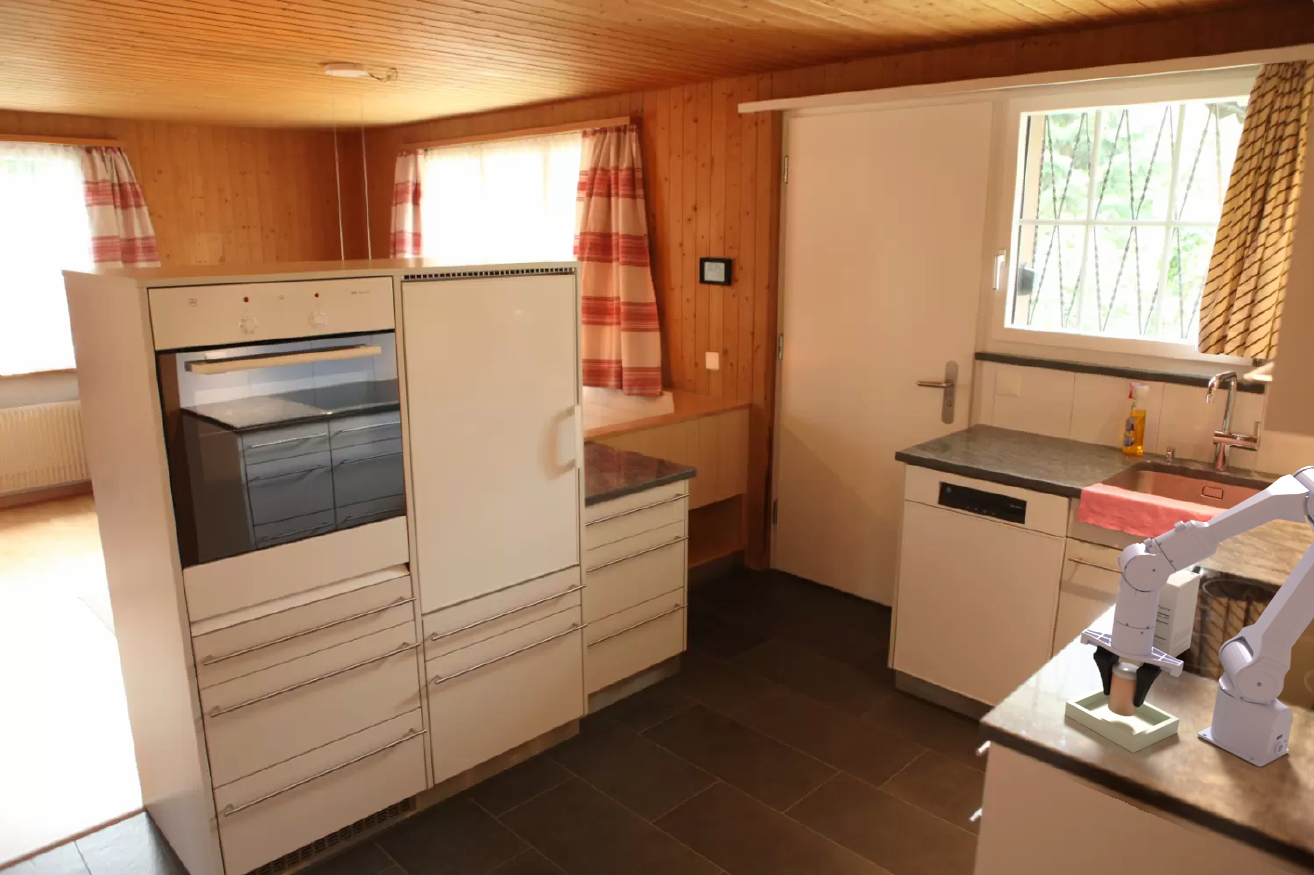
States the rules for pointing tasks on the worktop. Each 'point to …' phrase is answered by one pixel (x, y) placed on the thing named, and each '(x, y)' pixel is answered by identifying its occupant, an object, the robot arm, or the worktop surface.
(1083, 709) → the tray
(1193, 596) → the supplement box
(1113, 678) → the shaker
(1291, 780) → the worktop surface
